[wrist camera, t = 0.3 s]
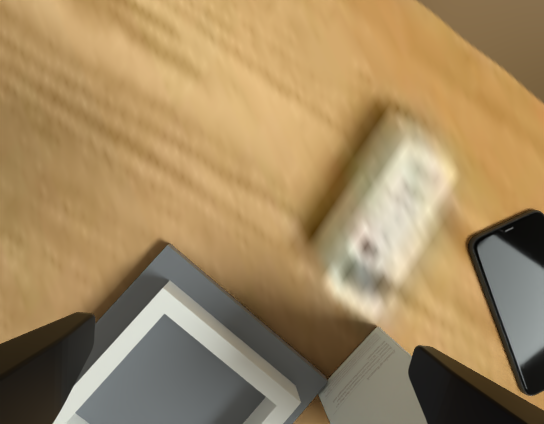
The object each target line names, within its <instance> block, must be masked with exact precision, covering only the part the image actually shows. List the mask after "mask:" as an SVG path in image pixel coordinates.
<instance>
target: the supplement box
mask: <svg viewBox="0 0 544 424" xmlns="http://www.w3.org/2000/svg"><path fill="white" fill-rule="evenodd" d="M411 358H412V356H411V355H410V354H409V353H408V352H406V351H405V350H404V349H403V348H402V347H401V346H400V345H399V344H398V343H396V342H395V341H394V340H393V339H392V338H391V337H390V336H388V335H387V334H386V333H385V332H384V331H383V330H382V329H381V328H380V327H376V328H375V329H374V330H373V331H372V332H371V334H370V335H369V336H368V337H367V338H366V339H365V340H364V341H363V342H362V343H361V344H360V345H359V346H358V347H357V348H356V349H355V350H354V352H353V353H352V354H351V355H350V356H349V357H348V358H347V359H346V360H345V361H344V362H343V363H342V365H341V366H340V367H339V368H338V369H337V370H336V371H335V372H334V373H333V374H332V375H331V377H330V378H329V379H328V382H327V384H326V385H325V386H324V387H323V388H322V389H321V391H320V392H319V393H318V395H319V398H320V400H321V402H322V405H323V407H324V410H325V412H326V414H327V417H328V419H329V421H330V424H427V421H426V419H425V416H424V414H423V411H422V409H421V406H420V404H419V401H418V399H417V396H416V394H415V392H414V389H413V387H412V384H411V382H410V379H409V375H408V368H409V365H410V362H411Z"/></svg>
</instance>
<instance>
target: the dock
mask: <svg viewBox="0 0 544 424" xmlns="http://www.w3.org/2000/svg"><path fill="white" fill-rule="evenodd" d="M327 382H328V380H327V378H326V377H325V375H324V374H322V373H321V372H320V371H319V370H318V369H317V368H315V367H314V366H313V365H312V364H311V363H310V362H308V361H307V360H306V359H305V358H304V357H303V356H301V355H300V354H299V353H298V352H297V351H296V350H294V349H293V348H292V347H291V346H290V345H288V344H287V343H286V342H285V341H284V340H283V339H281V338H280V337H279V336H278V335H277V334H276V333H274V332H273V331H272V330H271V329H270V328H269V327H267V326H266V325H265V324H264V323H263V322H262V321H260V320H259V319H258V318H257V317H256V316H255V315H253V314H252V313H251V312H250V311H249V310H247V309H246V308H245V307H244V306H243V305H242V304H240V303H239V302H238V301H237V300H236V299H235V298H233V297H232V296H231V295H230V294H229V293H228V292H226V291H225V290H224V289H223V288H222V287H221V286H219V285H218V284H217V283H216V282H215V281H213V280H212V279H211V278H210V277H209V276H208V275H206V274H205V273H204V272H203V271H202V270H201V269H199V268H198V267H197V266H196V265H195V264H194V263H192V262H191V261H190V260H189V259H188V258H187V257H185V256H184V255H183V254H182V253H181V252H180V251H178V250H177V249H176V248H175V247H174V246H172V245H171V244H168V245H167V246H166V247H165V248H164V249H163V251H162V252H161V253H160V254H159V255H158V256H157V257H156V258H155V259H154V260H153V261H152V263H151V264H150V265H149V266H148V267H147V268H146V269H145V270H144V271H143V272H142V273H141V275H140V276H139V277H138V278H137V279H136V280H135V281H134V282H133V283H132V284H131V285H130V287H129V288H128V289H127V290H126V291H125V292H124V293H123V294H122V295H121V296H120V297H119V299H118V300H117V301H116V302H115V303H114V304H113V305H112V306H111V307H110V308H109V309H108V311H107V312H106V313H105V314H104V315H103V316H102V317H101V318H100V319H99V320H98V322H97V323H96V324H95V337H94V346H93V349H92V351H91V353H90V355H89V357H88V359H87V361H86V363H85V365H84V367H83V369H82V371H81V373H80V375H79V377H78V379H77V381H76V383H75V384H74V386H73V388H72V390H71V392H70V394H69V396H68V398H67V400H66V402H65V404H64V406H63V407H62V409H61V411H60V413H59V414H58V416H57V418H56V419H55V421H54V422H53V424H293V422H294V421H295V420H296V419H297V418H298V417H299V415H300V414H301V413H302V412H303V411H304V410H305V408H306V407H307V406H308V405H309V404H310V402H311V401H312V400H313V399H314V398H315V397H316V395H317V394H318V393H319V392H320V391H321V389H322V388H323V387H324V386H325V385H326V384H327Z"/></svg>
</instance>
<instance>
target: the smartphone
mask: <svg viewBox="0 0 544 424" xmlns="http://www.w3.org/2000/svg"><path fill="white" fill-rule="evenodd" d="M468 248H469V252H470V255H471V258H472V261H473V264H474V266H475V269H476V272H477V274H478V278H479V280H480V283H481V285H482V288H483V291H484V294H485V297H486V299H487V302H488V304H489V307H490V310H491V313H492V315H493V318H494V321H495V324H496V326H497V329H498V332H499V334H500V337H501V340H502V343H503V345H504V348H505V351H506V353H507V356H508V359H509V362H510V364H511V367H512V370H513V373H514V375H515V378H516V381H517V383H518V386H519V388H520V390H521V391H522V392H523V393H524V394H526V395H528V396H533V395H536V394H539V393H540V392H542V391H544V214H543V213H542V212H540V211H538V210H530V211H527V212H525V213H523V214H521V215H519V216H516V217H514V218H512V219H510V220H508V221H505V222H503V223H501V224H499V225H497V226H495V227H492V228H490V229H488V230H486V231H484V232H482V233H480V234H477V235H475V236H474V237H473V238H472V239H471V240H470V241H469V245H468Z"/></svg>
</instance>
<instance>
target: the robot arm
mask: <svg viewBox="0 0 544 424" xmlns="http://www.w3.org/2000/svg"><path fill="white" fill-rule="evenodd" d="M94 337H95V315H94V314H92V313H83V312H76V313H74V314H71V315H69V316H66V317H64V318H62V319H59V320H57V321H54V322H52V323H50V324H47V325H45V326H42V327H40V328H38V329H35V330H33V331H30V332H28V333H26V334H23V335H21V336H18V337H16V338H14V339H11V340H9V341H6V342H4V343H1V344H0V424H53V422H54V421H55V419H56V418H57V416H58V414H59V413H60V411H61V409H62V407H63V406H64V404H65V402H66V400H67V398H68V396H69V394H70V392H71V390H72V388H73V386H74V384H75V383H76V381H77V379H78V377H79V375H80V373H81V371H82V369H83V367H84V365H85V363H86V361H87V359H88V357H89V355H90V353H91V351H92V349H93V346H94ZM408 375H409V379H410V382H411V384H412V387H413V389H414V392H415V394H416V396H417V399H418V401H419V404H420V406H421V409H422V411H423V414H424V416H425V419H426V421H427V424H544V410H542V409H540V408H538V407H537V406H535V405H533V404H531V403H529V402H528V401H526V400H524V399H522V398H521V397H519V396H517V395H515V394H514V393H512V392H510V391H508V390H507V389H505V388H503V387H501V386H500V385H498V384H496V383H494V382H493V381H491V380H489V379H487V378H486V377H484V376H482V375H480V374H479V373H477V372H475V371H473V370H472V369H470V368H468V367H466V366H465V365H463V364H461V363H459V362H457V361H456V360H454V359H452V358H450V357H449V356H447V355H445V354H443V353H442V352H440V351H438V350H436V349H435V348H433V347H430V346H421V345H418V346H416V348H415V349H414V352H413V355H412V358H411V362H410V365H409V368H408Z"/></svg>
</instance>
